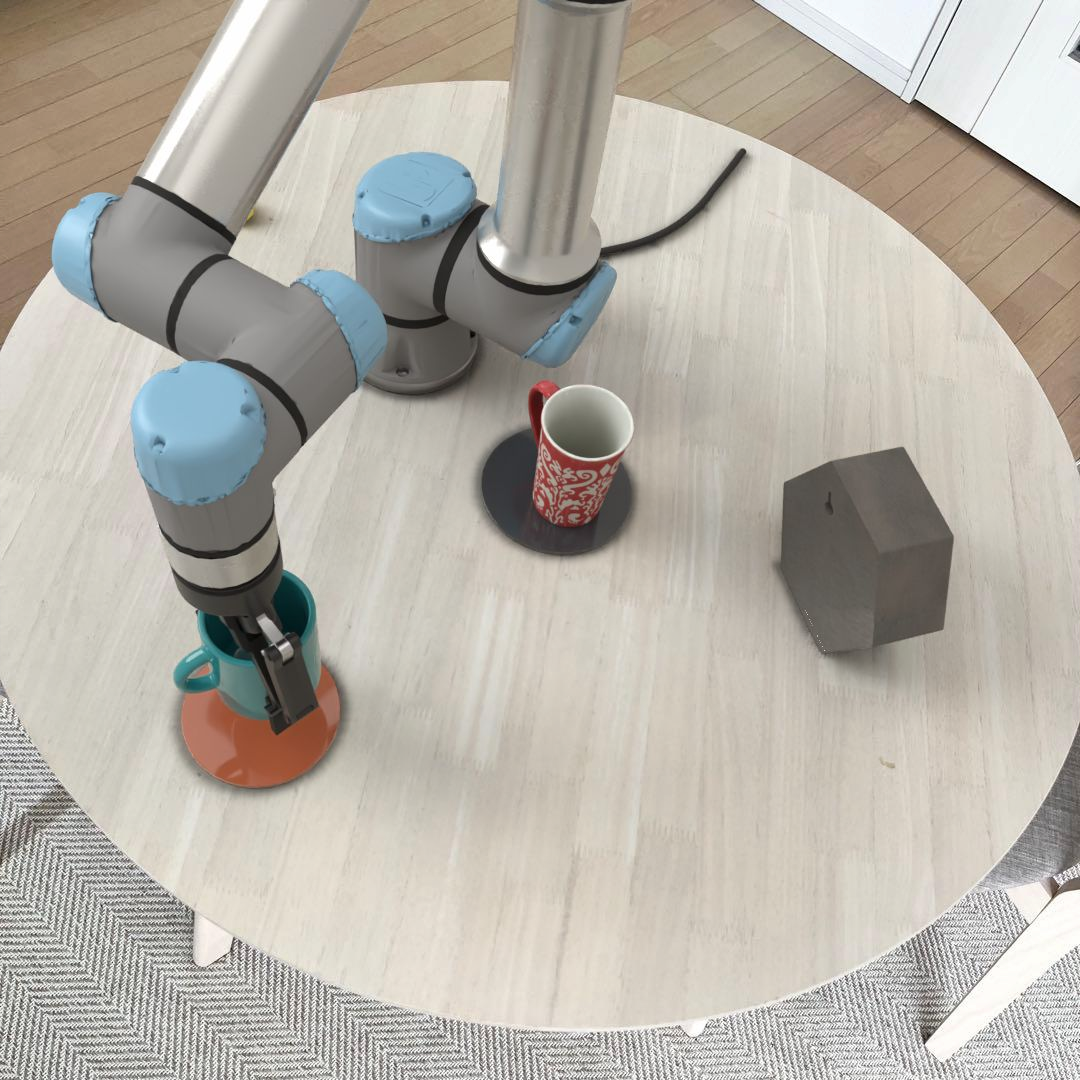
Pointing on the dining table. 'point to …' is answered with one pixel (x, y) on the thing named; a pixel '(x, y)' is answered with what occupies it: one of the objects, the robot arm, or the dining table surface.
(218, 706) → the coaster terracotta
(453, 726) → the dining table surface
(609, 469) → the mug
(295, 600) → the cup
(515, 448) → the coaster slate
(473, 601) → the dining table surface
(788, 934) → the dining table surface
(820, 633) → the dark grey boxy piece
